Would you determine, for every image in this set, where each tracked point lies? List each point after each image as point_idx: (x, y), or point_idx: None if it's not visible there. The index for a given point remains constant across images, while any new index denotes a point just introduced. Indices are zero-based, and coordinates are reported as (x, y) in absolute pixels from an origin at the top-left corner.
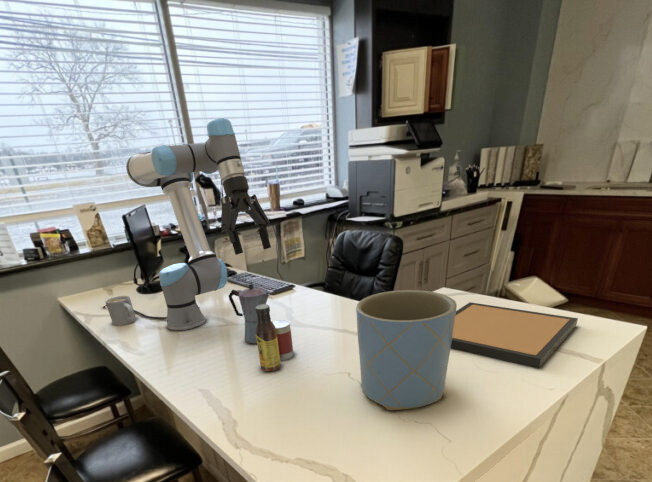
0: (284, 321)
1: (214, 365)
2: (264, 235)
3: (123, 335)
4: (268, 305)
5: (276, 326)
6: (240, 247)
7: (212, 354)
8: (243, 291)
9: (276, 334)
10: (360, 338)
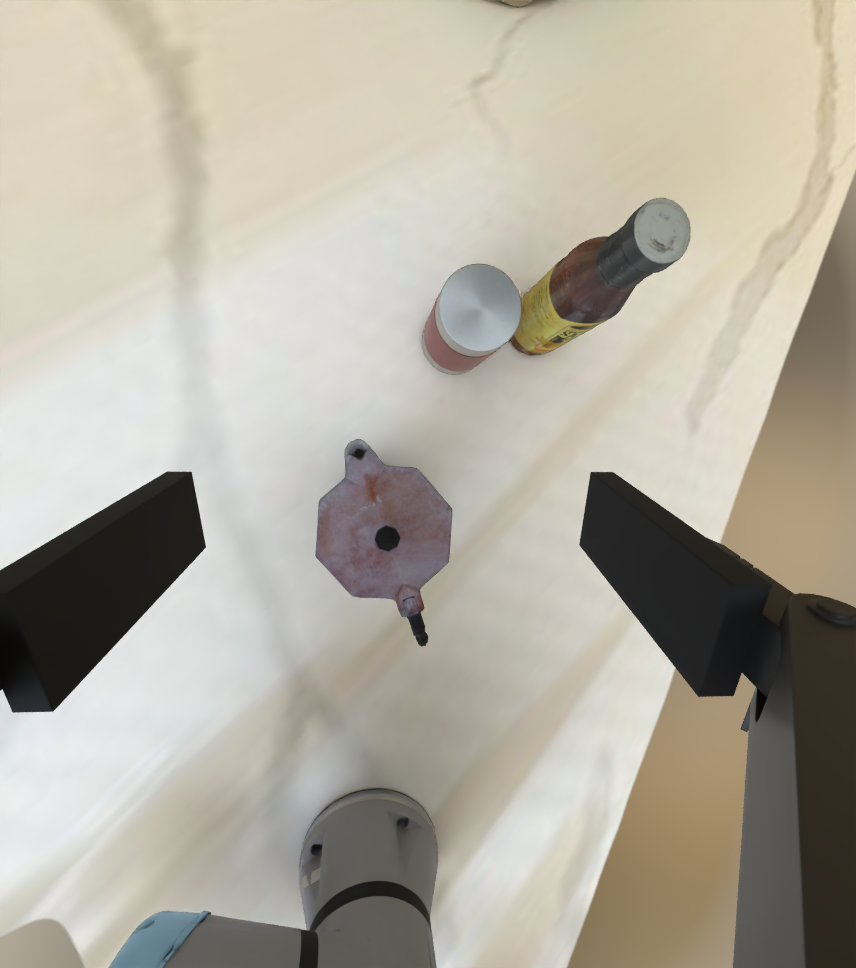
0: (450, 302)
1: (580, 498)
2: (113, 558)
3: (527, 948)
4: (643, 209)
5: (506, 302)
6: (630, 489)
7: (527, 560)
8: (410, 568)
9: (559, 263)
10: None
